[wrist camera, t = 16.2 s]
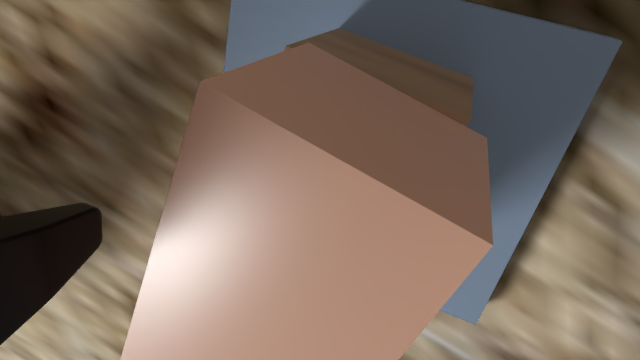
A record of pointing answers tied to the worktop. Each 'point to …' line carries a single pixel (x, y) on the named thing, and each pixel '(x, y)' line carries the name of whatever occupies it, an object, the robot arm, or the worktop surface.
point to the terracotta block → (310, 218)
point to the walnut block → (401, 72)
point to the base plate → (488, 90)
